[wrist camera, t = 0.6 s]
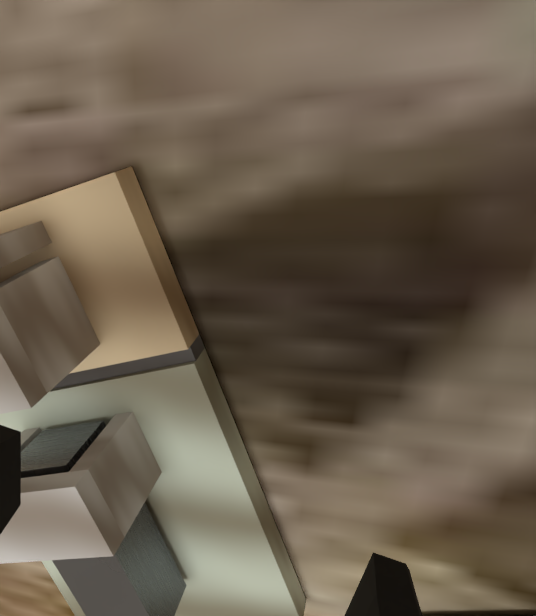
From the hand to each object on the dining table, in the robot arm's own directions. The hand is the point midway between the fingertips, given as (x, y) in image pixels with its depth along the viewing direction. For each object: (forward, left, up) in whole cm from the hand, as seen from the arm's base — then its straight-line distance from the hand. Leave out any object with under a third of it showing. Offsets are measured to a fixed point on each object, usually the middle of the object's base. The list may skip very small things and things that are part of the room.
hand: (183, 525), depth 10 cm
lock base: (-4, +9, -9) cm, 14 cm away
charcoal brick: (-6, +9, -8) cm, 14 cm away
